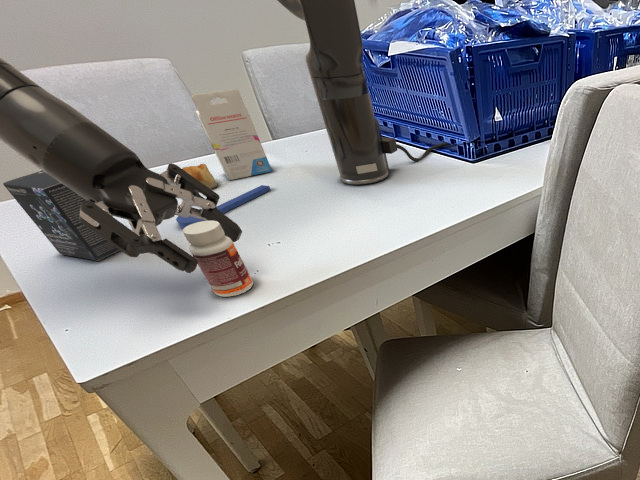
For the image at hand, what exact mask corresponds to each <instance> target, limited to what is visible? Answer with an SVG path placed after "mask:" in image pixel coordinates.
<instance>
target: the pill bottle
mask: <svg viewBox="0 0 640 480" xmlns="http://www.w3.org/2000/svg"><path fill="white" fill-rule="evenodd" d="M182 234H183V235H184V237H185V239H186V241H187V242H188V243H189V244H190V245H189V252H190V255H191V256H193V257H194V258H196V259H197V261H198V264H197V267H199V269H200V271H201V273H202V274H203V276H204V277H205V279H206V281H207V282H208V284H209V286H210V287H211V289H212V291H213V293H214V294H215V295H216V296H219V297H225V298H227V297H228V298H229V297H235V296H239V295H241V294H244V293H246V292H247V291H249V290H250V289H251V288H252V287H253V285H254V281H253V279H252V277H251V275H250V273H249V271H248V269H247V267H246V265H245V262H244V261H243V259H242V257H241V256H240V254H239V252H238V250H237V247H236V245H235V242H233V241H232V240H231V239H230V238H229V237H227V236H224V235H225V233H224V231H223V229H222V227H221V225H220V223H219V222H217V221H201V222H197V223H194V224H191V225H188V226H186V227H185V228H184V229H182Z"/></svg>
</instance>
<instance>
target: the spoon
mask: <svg viewBox="0 0 640 480" xmlns="http://www.w3.org/2000/svg"><path fill="white" fill-rule="evenodd" d="M270 191H271V187H270V185H264V184H263V185H262V184H261V185H259V186H257V187H255V188H252V189H250V190H248V191H246V192H244V193H242V194H240V195H238V196H235V197H234V198H231V199H229V200H227V201H225V202H223V203H221V204H219V205H216V207H217V209H218V210H219V211H220V212H221V213H223V214H225V213H227V212H229V211H231V210H233V209H236V208H238V207H239V206H241V205H243V204H245V203H248V202H249V201H252V200H254V199H256V198H258V197H259V196H261V195H263V194H265V193H266V194H267V193H268V192H270ZM199 209H200V210H202V208H199ZM175 220H176V222H177V224H178V226H179V227H180V229H182V230H183V229H184V228H185V227H186V226H188V225H191V224H194V223H197V222H201V221H205V220H202V219H198V218H194V217H191V216H189V217H186V218H184V217H180V216H177V217H176V219H175Z"/></svg>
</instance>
